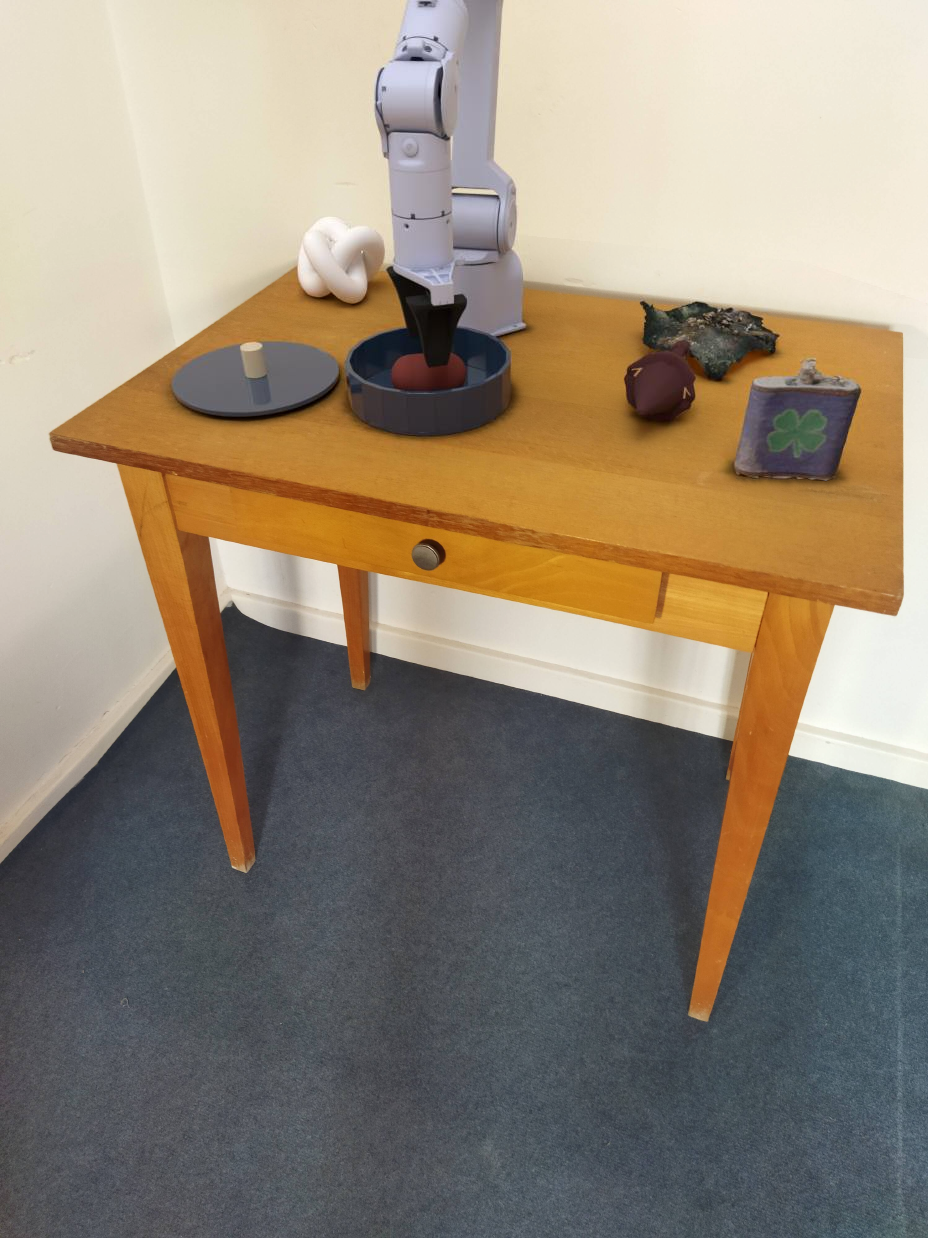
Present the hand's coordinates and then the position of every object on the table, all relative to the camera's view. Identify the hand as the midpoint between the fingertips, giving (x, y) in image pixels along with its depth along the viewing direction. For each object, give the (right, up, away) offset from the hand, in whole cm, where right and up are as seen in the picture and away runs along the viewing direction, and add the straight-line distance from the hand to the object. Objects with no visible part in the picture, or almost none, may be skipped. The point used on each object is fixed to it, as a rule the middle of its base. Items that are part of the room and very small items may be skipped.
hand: (428, 350), depth 91 cm
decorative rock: (+32, +4, +13) cm, 35 cm away
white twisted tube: (-12, +16, +28) cm, 34 cm away
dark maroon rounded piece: (+24, -7, -1) cm, 25 cm away
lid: (-19, -1, +6) cm, 20 cm away
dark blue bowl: (0, -4, +3) cm, 5 cm away
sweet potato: (0, -4, +3) cm, 5 cm away
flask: (+33, -14, -9) cm, 38 cm away
